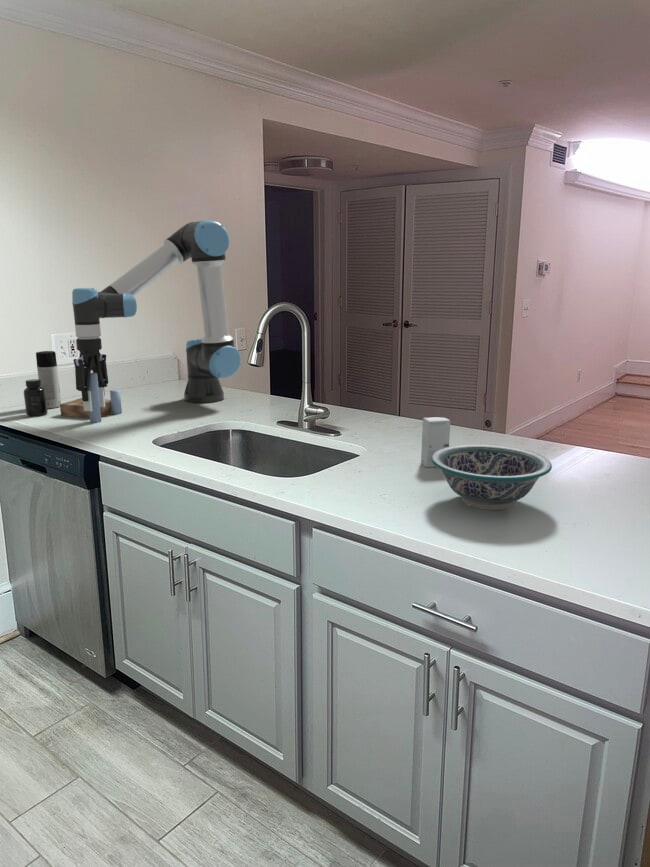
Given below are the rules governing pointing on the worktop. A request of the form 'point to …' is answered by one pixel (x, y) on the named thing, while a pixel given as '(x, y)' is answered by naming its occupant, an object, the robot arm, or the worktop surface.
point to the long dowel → (94, 399)
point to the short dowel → (115, 401)
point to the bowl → (490, 473)
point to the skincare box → (434, 438)
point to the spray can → (49, 377)
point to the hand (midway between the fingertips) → (94, 408)
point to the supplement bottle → (35, 398)
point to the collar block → (82, 408)
